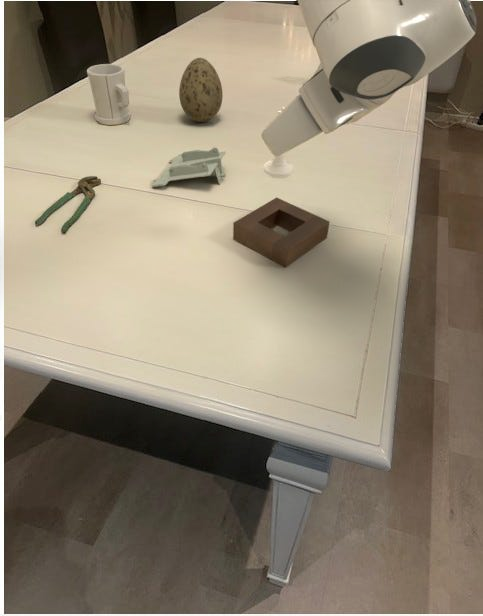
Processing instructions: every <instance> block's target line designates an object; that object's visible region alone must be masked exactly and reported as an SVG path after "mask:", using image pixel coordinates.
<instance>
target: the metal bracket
mask: <svg viewBox="0 0 483 616" xmlns="http://www.w3.org/2000/svg"><path fill="white" fill-rule="evenodd" d="M226 154H227V152H226V151H219V149H218V148H217V147H216V146H214V147H212V148H211V149H210V150H201V149H195V150H188V151H183V152H182V153H179V154H178V155H176V156H175V157H173V158H171V159H170V160H169V161H168V163H169V165H168V166H167V167H166V168H165V170H164V171H163V172H162V174H161V175H160V176H159V177H158V178H155V179H152V181H151V187H152V188H156V187H157V188H158V187H165V186H166V185H167V184H168V183H169V182H171V181H172V182H173V181H180V180H187V179H188V180H189V179H194V178H195V179H196V178H203V177H209V176H211V175H212V174H213V172H215V176H216V179H217V183H218V185H221V184H222V182H223V181H224V179H225V178H227V173H225V172H224V169H223V165H222V159H223V158H224V156H225V155H226Z"/></svg>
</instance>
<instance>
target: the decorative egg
mask: <svg viewBox="0 0 483 616" xmlns="http://www.w3.org/2000/svg"><path fill="white" fill-rule="evenodd" d="M223 95H224V94H223V86H222V83H221V80H220V76H219V74H218V71H216V68H215V67H214V66H213V65H212V63H211V62H210V61H208V60H207V59H206V58H203V57H196V58H194V59H192V60H191V61H190V62H189V63H188V64H187V66H186V68H185V69H184V71H183V74H182V76H181V79H180V83H179V89H178V96H179V102H180V106H181V108H182V111H183V112H184V114H185V115H186V116H187V117H188V118H189V119H191V120H192V121H195V122H197V123H206V122H209V121H210V120H212V119H214V117H216V116H217V114H218V113H219V111H220V110H221V108H222V105H223V97H224V96H223Z"/></svg>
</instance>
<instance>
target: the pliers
mask: <svg viewBox="0 0 483 616" xmlns="http://www.w3.org/2000/svg"><path fill="white" fill-rule="evenodd" d="M101 183H102V180H101V178H98V176H97V175H90V176H85V177H82V178H80V179H79V180H78V182H77V187H76V188H74V190H73V191H71V192H69V191H67V192H66V193H65V194H63V196H61V197H60V198H59V199H57V201H56V200H55V202H54V203H53V204H51V205H50V206H49V207H48V208H47V209H46V210H45V211H43V212H42V214H41V216H39V217H38V218H37V219H36V220H35V221H34V224H35V226H40V225H41V224H43V223H44V222H45V221H46V220H47V218H48V217H49V216H50V215H51V214H52V213H53V212H55V211H57V210H58V209H59V208H60V207H62V206H63V205H64V204H65V203H66V202H68V201H69V200H70V199H72V198H73V197H75V196H76V195H78V194H81V193H83V194H84V195H85V196H84V198H83V199H82V201H81V203H80V204H79V206H78V207H77V209H75V211H74V213H73V214H72V215H71V217H70V218H68V220H66V221H65V222H64V223H63V224H62V226H61V228H60V232H61V233H64V234H65V233H66V232H67V230H68V229H69V228H70V227H71V226H72V225H73V224H74V223H75V222H76V221H77V220H78V218H79V217H80V216H81V215H82V213H83V212H84V211H85V209H87V207H88V206H89V204H90V203H91V200H92V199H93V198H94V197H95V195H96V191H95V190H94V188H93V187H95V186H98V185H100V184H101ZM88 191H89V192H88Z"/></svg>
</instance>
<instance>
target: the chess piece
mask: <svg viewBox="0 0 483 616" xmlns="http://www.w3.org/2000/svg"><path fill="white" fill-rule="evenodd" d="M285 108H286V107H284V106H282V107H281V110H277V116H278V115H279V114H280V113H281V112H282V111H283V110H284V109H285ZM285 154H286V153H283V154H281V155H278V156H275V155H274V157H273V158H272V159H271V160H268V161H266V162H265V163H264V164H263V168H262V172H263V173H264V174H265V176H267V177H269V178H272V179H281V180H282V179H287V178H290V177H292V176H294V174H295V166H294V164H293V163H291V162H290V161H288V160H286V158H285Z"/></svg>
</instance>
